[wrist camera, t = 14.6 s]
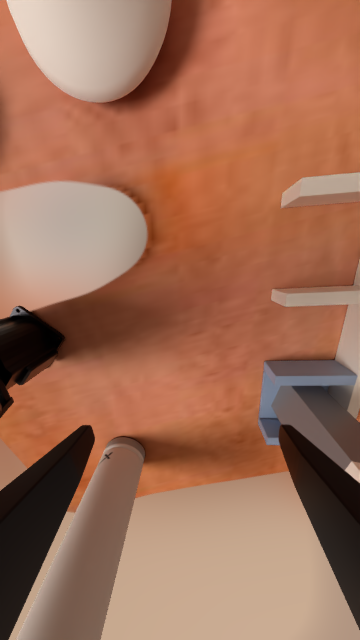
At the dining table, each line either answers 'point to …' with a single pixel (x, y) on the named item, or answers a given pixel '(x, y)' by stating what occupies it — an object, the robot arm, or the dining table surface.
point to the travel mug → (89, 552)
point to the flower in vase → (93, 42)
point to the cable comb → (356, 338)
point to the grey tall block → (321, 423)
